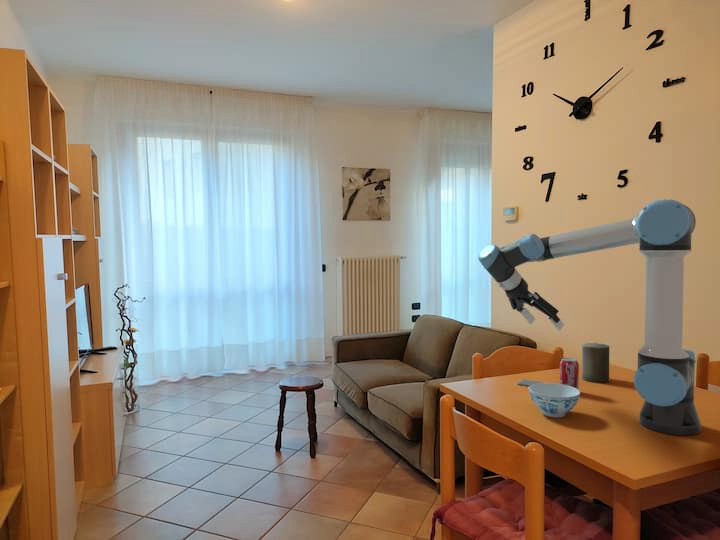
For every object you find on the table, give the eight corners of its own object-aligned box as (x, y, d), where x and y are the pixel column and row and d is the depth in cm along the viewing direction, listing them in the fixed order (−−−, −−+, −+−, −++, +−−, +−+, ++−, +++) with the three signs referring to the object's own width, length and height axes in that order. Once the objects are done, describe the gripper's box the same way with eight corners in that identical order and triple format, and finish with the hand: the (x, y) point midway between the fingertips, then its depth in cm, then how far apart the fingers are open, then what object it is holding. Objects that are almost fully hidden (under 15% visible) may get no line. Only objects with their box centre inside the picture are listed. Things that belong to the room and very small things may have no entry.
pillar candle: (611, 383, 183) (612, 344, 183) (583, 381, 186) (583, 343, 186) (606, 377, 192) (607, 340, 192) (580, 375, 195) (580, 338, 195)
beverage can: (582, 393, 172) (582, 360, 171) (568, 395, 170) (569, 362, 169) (568, 388, 178) (569, 356, 177) (555, 390, 175) (556, 358, 175)
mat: (538, 388, 178) (538, 386, 178) (517, 384, 183) (517, 383, 183) (544, 384, 184) (544, 382, 184) (524, 380, 188) (524, 379, 188)
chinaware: (590, 416, 149) (590, 392, 149) (558, 425, 142) (558, 400, 141) (550, 403, 162) (550, 380, 162) (518, 410, 155) (518, 387, 154)
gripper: (483, 288, 173) (516, 326, 179) (532, 295, 150) (568, 338, 156) (495, 273, 174) (527, 311, 181) (545, 277, 151) (580, 321, 158)
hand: (546, 324), depth 168 cm, fingers open, 13 cm apart
